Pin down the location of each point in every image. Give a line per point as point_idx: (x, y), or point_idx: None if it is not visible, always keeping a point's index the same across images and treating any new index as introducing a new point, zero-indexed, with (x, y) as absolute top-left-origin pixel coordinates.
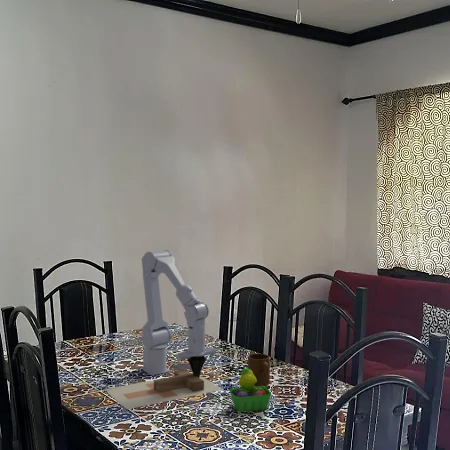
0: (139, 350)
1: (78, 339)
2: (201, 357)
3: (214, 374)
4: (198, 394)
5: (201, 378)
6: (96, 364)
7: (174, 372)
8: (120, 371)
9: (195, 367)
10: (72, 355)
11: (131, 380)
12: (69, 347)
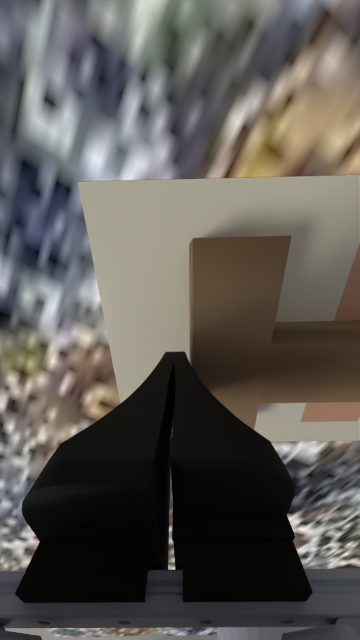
0: None
1: None
2: (95, 537)
3: (57, 403)
4: (261, 178)
5: (129, 386)
6: (329, 562)
7: None
8: (321, 521)
9: (209, 396)
10: None
11: (356, 465)
12: None
